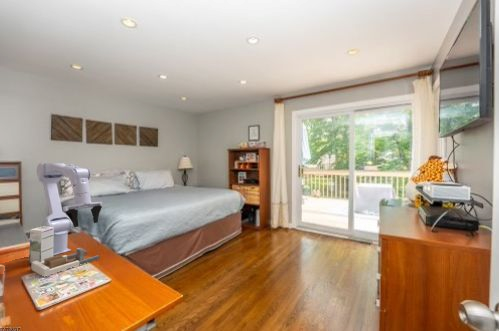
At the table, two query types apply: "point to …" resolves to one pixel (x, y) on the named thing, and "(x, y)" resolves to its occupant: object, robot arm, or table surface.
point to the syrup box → (41, 243)
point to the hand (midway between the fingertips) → (86, 224)
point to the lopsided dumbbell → (63, 259)
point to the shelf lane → (46, 271)
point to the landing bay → (84, 259)
